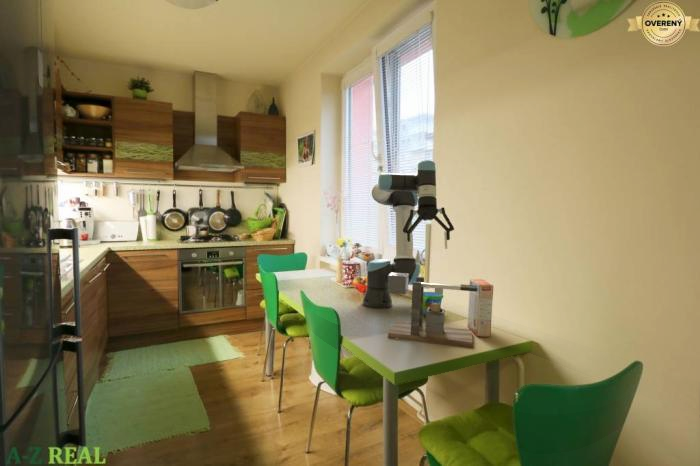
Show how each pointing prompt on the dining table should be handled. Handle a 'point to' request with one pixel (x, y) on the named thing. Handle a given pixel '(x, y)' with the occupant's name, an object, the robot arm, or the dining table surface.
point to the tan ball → (435, 307)
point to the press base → (432, 338)
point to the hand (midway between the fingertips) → (428, 249)
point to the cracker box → (480, 308)
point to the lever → (400, 285)
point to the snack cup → (430, 300)
